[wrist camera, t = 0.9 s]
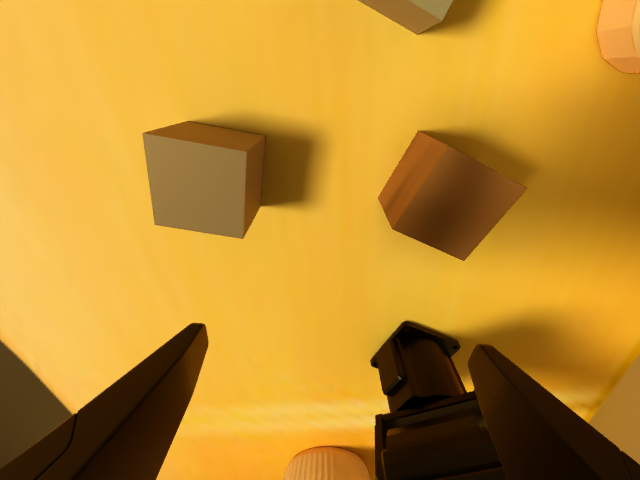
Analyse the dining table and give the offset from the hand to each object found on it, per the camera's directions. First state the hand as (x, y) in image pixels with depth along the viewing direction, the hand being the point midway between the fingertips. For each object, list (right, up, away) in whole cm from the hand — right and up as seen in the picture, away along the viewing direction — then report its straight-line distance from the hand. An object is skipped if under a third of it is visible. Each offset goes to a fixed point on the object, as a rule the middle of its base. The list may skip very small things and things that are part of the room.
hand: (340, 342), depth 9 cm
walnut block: (+7, +8, +10) cm, 14 cm away
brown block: (-7, +8, +10) cm, 15 cm away
